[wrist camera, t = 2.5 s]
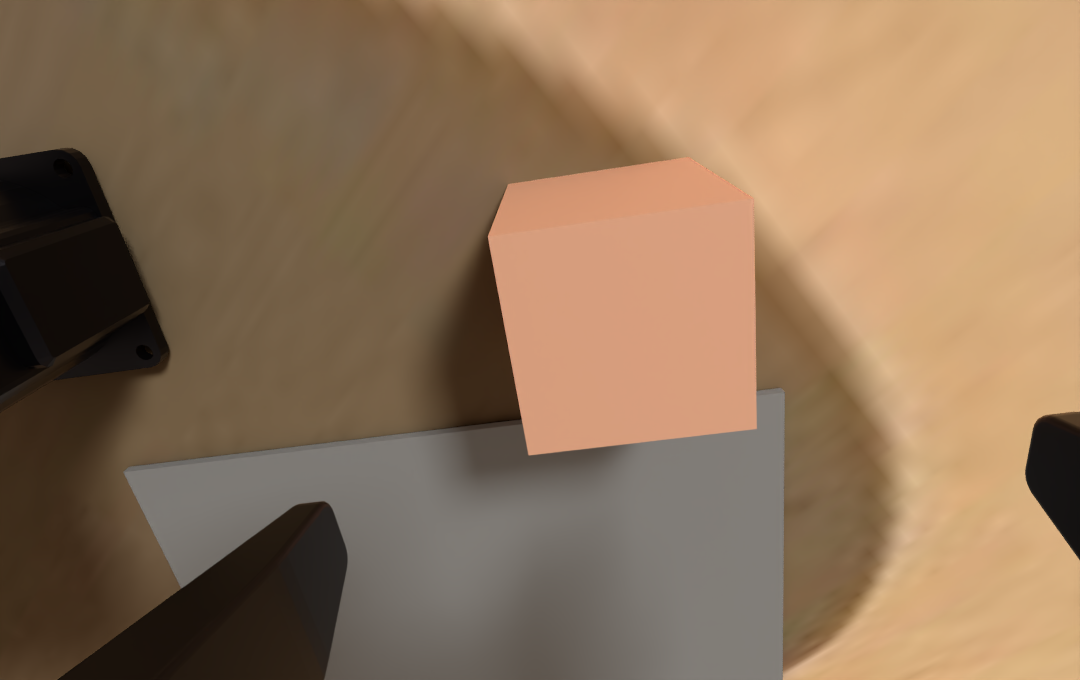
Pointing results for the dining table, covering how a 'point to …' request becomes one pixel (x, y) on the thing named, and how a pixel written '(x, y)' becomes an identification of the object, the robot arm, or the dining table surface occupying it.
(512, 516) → the mat
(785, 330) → the dining table surface
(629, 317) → the block
